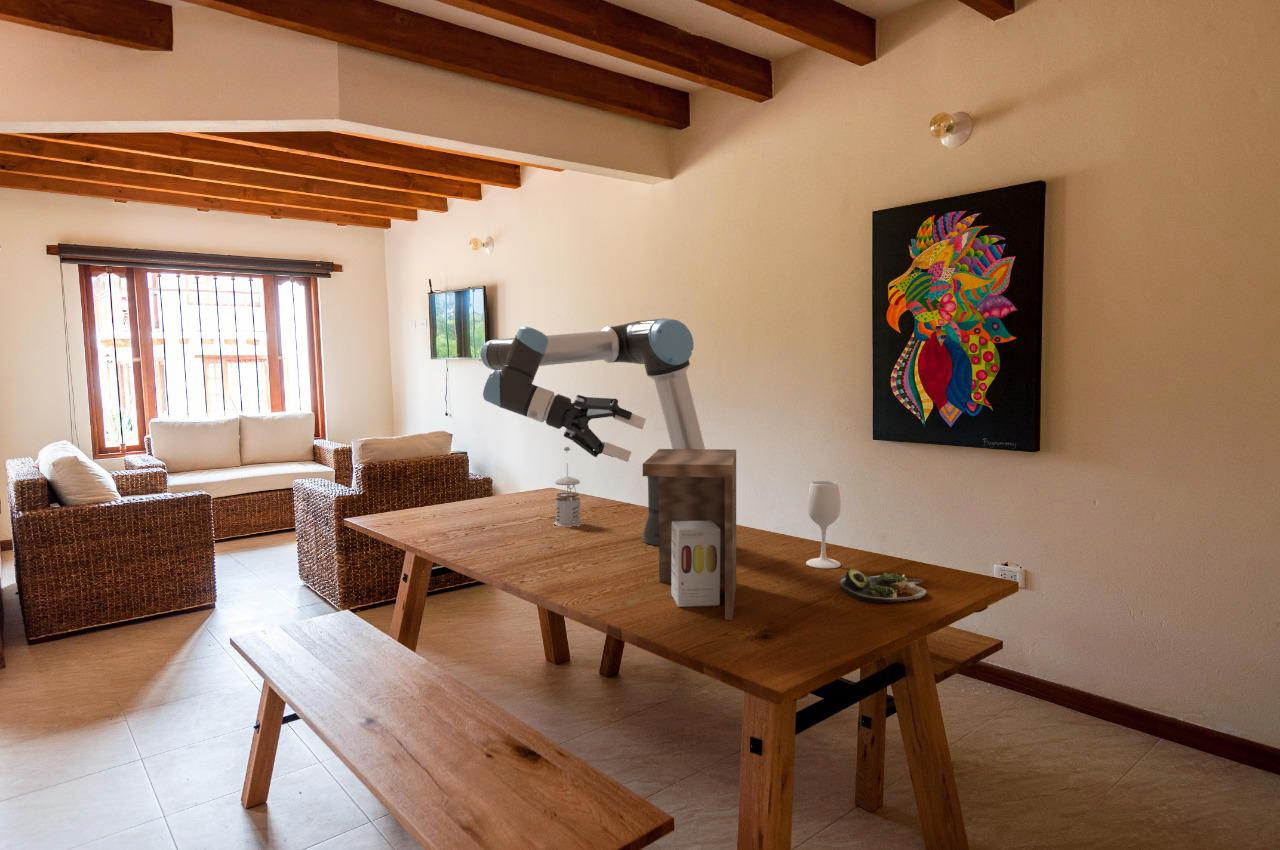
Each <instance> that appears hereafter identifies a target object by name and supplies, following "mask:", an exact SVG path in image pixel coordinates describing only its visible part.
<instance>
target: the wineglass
mask: <svg viewBox="0 0 1280 850" xmlns="http://www.w3.org/2000/svg"><path fill="white" fill-rule="evenodd" d="M841 504H842V503H841V493H840V488H839V484H838V482H836V481H832V480H814V481H811V482H810V485H809V490H808V494H807V513H808V515H809V518H810V519H811V520H812V521H813V522H814V523H815V524H816V525H818V526H819V527H820V530H821V547H820V548H821V550H820V555H819V557H814V558H811V559H808V560H807V561H805V564H806V566H808V567H811V568H814V569H828V570H829V569H837V568H839V567H841V565H842V564H841V562H839V561H838V560H835V559H833V558H829V557H827V551H826V548H827V547H826V535H827V529H828V527H829V526H830V525H831V524H833V523H835V522H836V520H837V519H838V518H839V516H840V514H841Z"/></svg>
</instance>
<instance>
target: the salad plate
mask: <svg viewBox="0 0 1280 850" xmlns="http://www.w3.org/2000/svg"><path fill="white" fill-rule="evenodd" d="M905 576H906V574H902V575H898V573H897V572H895V573H887V572H883V573H882V574H881V575H873V576H867V575H865V574H864V573H863V572H861V571H860V570H858V569H855V568H850V569H848V570H847V571H846V573H845V575H841V576H839V578H840V579H841V580H840V581H839V586H840V588H841V590H842V591H843V592H845V594H847V595H848V596H850V597H853V598H854V599H855V600H858V601H862V602H866V603H871V604H895V603H894V602H896V603H901V602H900V601H905V602H908V601H907V600H911V601H913V600H912V599H915V600H919V599H922V597H924V596H926V594H927V593H928V592H927V590H926V589H925V588H923V587H920V586H917V585H918V584H921V583H923V582H924V580H923V579H917V578H907V577H905ZM903 590H906V591H910V592H912V593H914V595H913V596H906V597H905V596H903V597H898V595H897V594H898V593H897V592H901V591H903ZM918 598H919V599H918Z"/></svg>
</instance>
